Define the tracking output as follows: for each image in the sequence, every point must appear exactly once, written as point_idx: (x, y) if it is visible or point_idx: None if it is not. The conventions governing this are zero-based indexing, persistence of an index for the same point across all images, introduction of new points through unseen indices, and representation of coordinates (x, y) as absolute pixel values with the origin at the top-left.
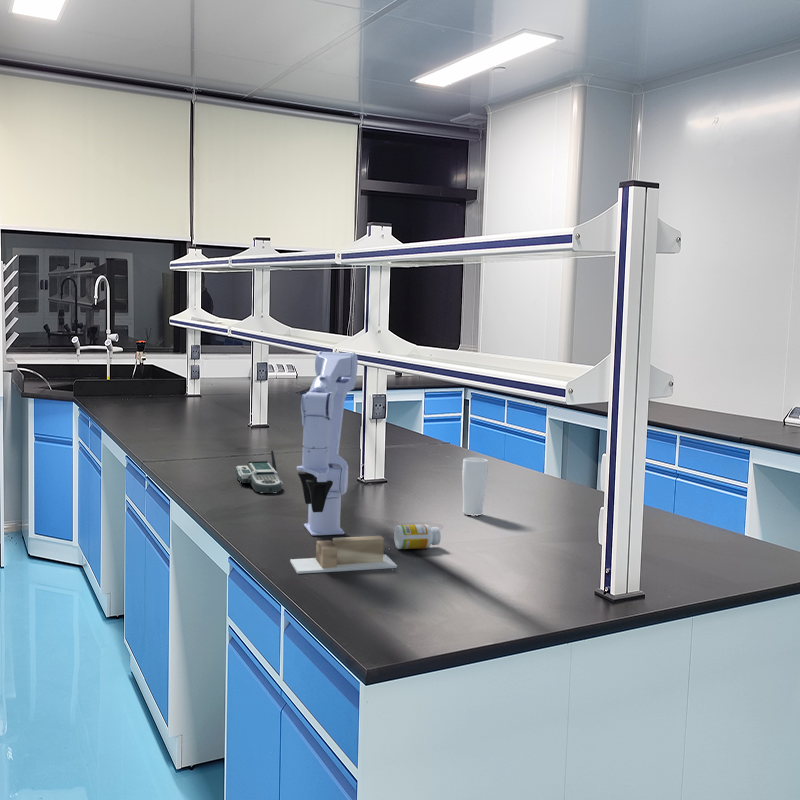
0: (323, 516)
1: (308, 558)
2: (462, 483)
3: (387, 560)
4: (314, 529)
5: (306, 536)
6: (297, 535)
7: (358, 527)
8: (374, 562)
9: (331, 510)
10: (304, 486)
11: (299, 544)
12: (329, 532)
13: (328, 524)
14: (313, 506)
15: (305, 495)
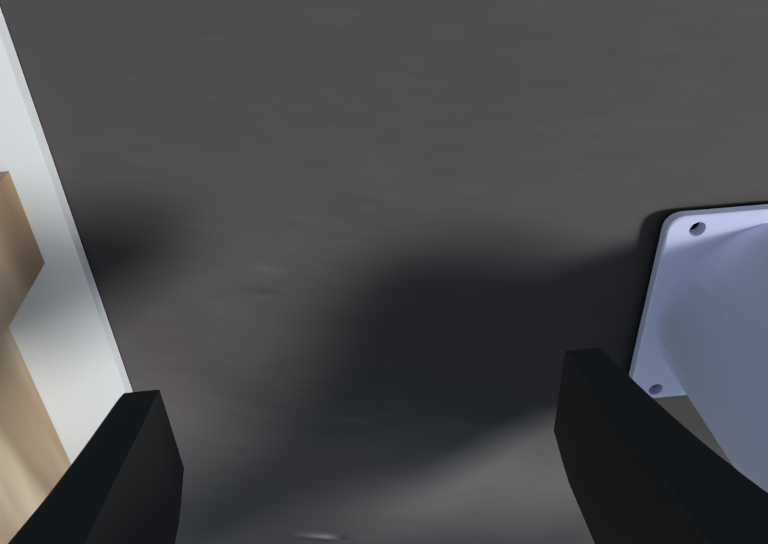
0: (731, 368)
1: (24, 119)
2: None
3: None
4: (729, 249)
5: (679, 174)
6: (730, 112)
7: None
8: None
9: (736, 449)
10: (684, 534)
11: (488, 98)
12: (657, 326)
13: (685, 356)
14: (88, 454)
15: (610, 426)
